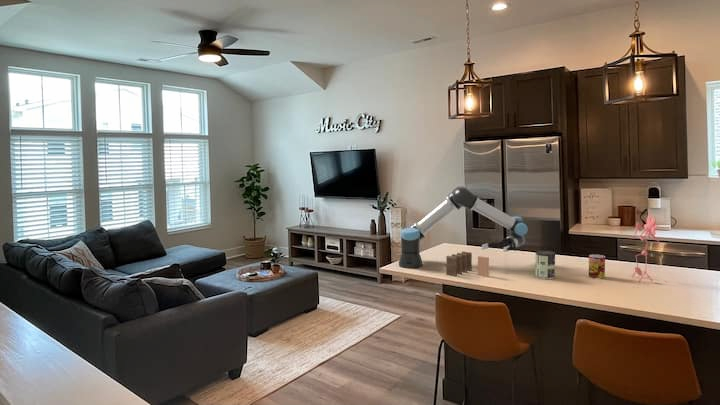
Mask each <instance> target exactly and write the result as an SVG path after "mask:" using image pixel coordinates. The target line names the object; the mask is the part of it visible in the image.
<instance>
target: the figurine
mask: <svg viewBox="0 0 720 405" xmlns="http://www.w3.org/2000/svg"><path fill="white" fill-rule="evenodd" d="M656 222H657V221H656V218H655V216H654V215H653V216H650V215H648V216H647V218H646V223H645V224H644V225H643V226H642V224H641V223H640V222H638V221H637V222H636V223H635V231H634V237H638V238H640V240H641V242H644V241H645V242H646V246H645V249H643V250H642V251H641V253H640V254H639V253H638V254H637V255H635V259H636V266H635V268H634V273H633V274H632V275H631V278H633V277H634V276H635V275H636V274H637V275H638V276H639V277H640V276H641V277H640V279H638V282H639V281H640V282H641V280H642V279H643V277H644V276H645V275H647V276H646V277H647V278H648V279H649V280H650V281H651V283H654V282H653V280H652V278H651V276H650V275H649V274H648V273H647V267H645V270H643V271H642V269H641V268H640V267H639V264H638V259H637V257H638V256H641V255H642V256H645V265H648V264H647V260H648V259H647V258H648V257H647V256H648V251H647V248H648V246H649V240H647V239H649V238H651V239H654V240H656V241H657V242H658V243H660V240H659V239H658V238H657V237H656V236H655V235H656V230H658V228H659V227H658V225H657V223H656ZM643 228H644V229H643ZM637 230H638V231H639V232H641V234H640V235H637ZM642 231H643V232H642ZM644 233H645V234H644ZM642 235H643V237H642ZM645 238H647V239H645Z"/></svg>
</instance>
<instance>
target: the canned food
mask: <svg viewBox="0 0 720 405" xmlns="http://www.w3.org/2000/svg"><path fill="white" fill-rule="evenodd" d="M605 270H606V256H605V255H602V254H589V255H588V277H589V278H590V277H591V278H592V279H595V278H598V280H600V279H599V278H604V279H605V276H606V274H605V273H606V271H605ZM591 278H590V279H591Z"/></svg>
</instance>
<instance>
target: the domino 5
mask: <svg viewBox="0 0 720 405" xmlns="http://www.w3.org/2000/svg"><path fill="white" fill-rule="evenodd" d="M489 260H490V257H489V256H483V255H482V256H481V255H478V256H477V276H481V277H486V278H488V277H489V276H490V275H489V272H490V270H489V268H490V263H489V262H490V261H489Z"/></svg>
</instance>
